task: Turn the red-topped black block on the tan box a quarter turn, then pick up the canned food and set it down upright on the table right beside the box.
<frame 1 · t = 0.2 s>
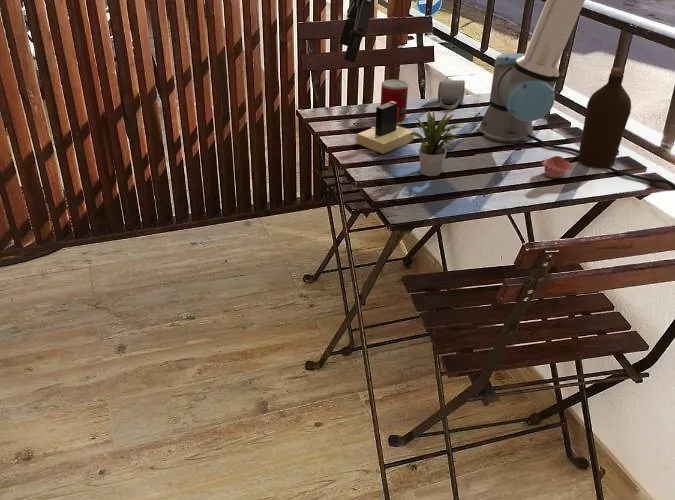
hand: (346, 52, 165), 27 cm above the table, tool tilted 15°, fingers open, 13 cm apart
flower: (554, 177, 167), on the table
red-topped black block: (386, 118, 181), point 7 cm above the table, hinge at 0.0°
canned food: (392, 118, 201), on the table
tan box: (385, 142, 185), on the table
ceramic mug: (450, 105, 212), on the table
olive oil: (595, 161, 176), on the table
house plant: (430, 174, 168), on the table
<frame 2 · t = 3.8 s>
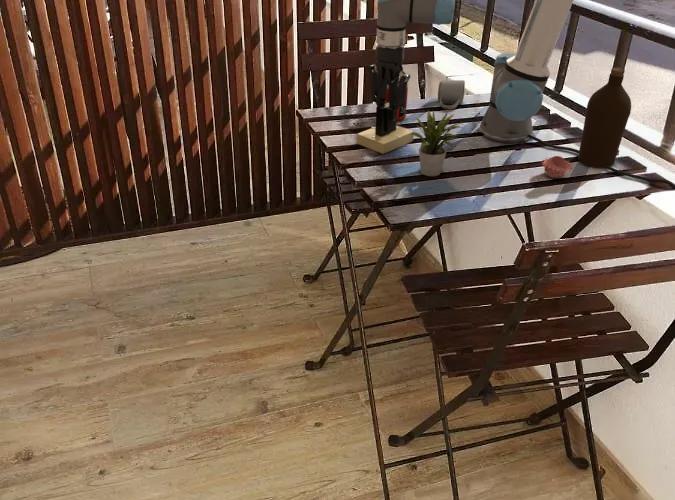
hand: (385, 129, 183), 4 cm above the table, tool pointing down, fingers closed on red-topped black block, 2 cm apart
red-topped black block: (386, 118, 181), point 7 cm above the table, hinge at 0.6°, touching gripper
everything else where it was.
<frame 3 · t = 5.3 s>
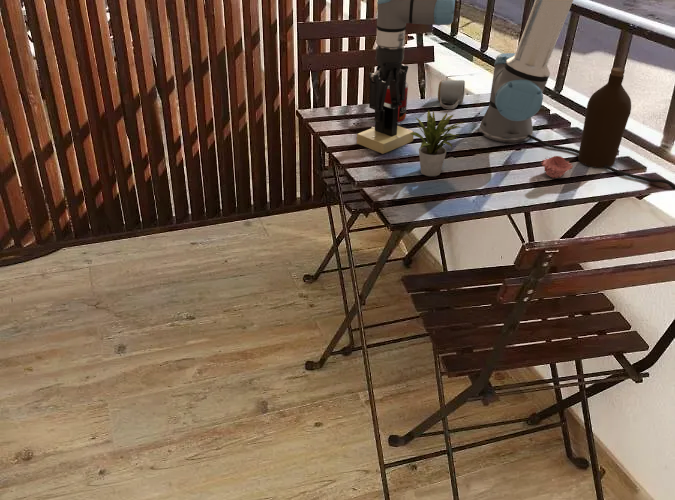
hand: (385, 129, 183), 4 cm above the table, tool pointing down, fingers open, 5 cm apart
red-topped black block: (386, 118, 181), point 7 cm above the table, hinge at 89.4°
everything else where it was.
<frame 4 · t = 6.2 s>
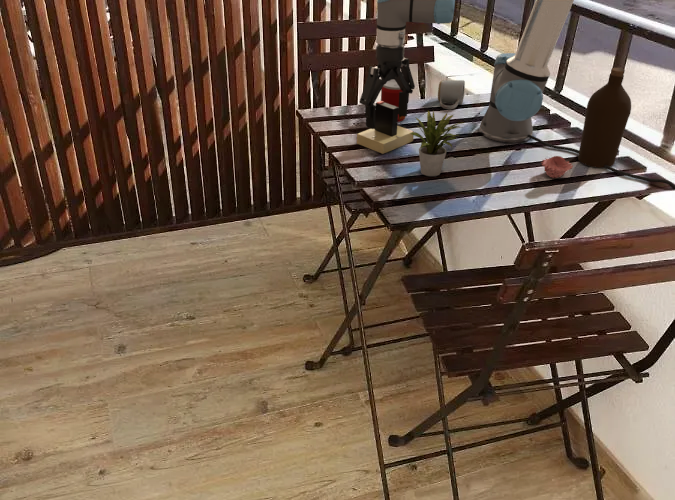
hand: (386, 121, 181), 6 cm above the table, tool pointing down, fingers open, 13 cm apart
nothing on the table moved.
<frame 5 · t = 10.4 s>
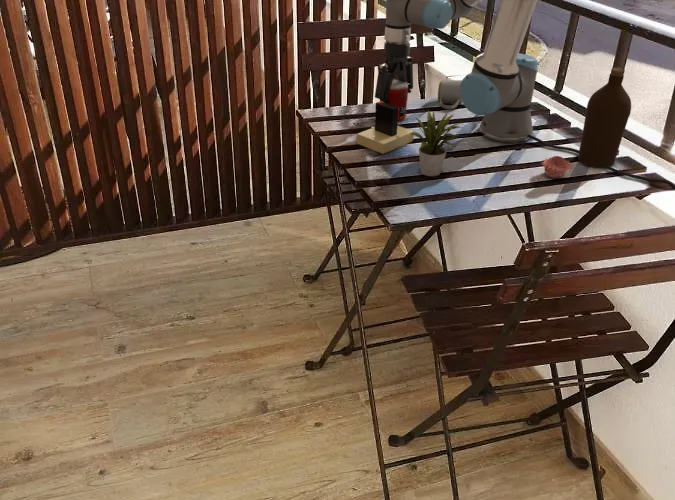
hand: (392, 116, 201), 1 cm above the table, tool pointing down, fingers closed on canned food, 8 cm apart
canned food: (392, 118, 201), on the table, touching gripper
everything else where it was.
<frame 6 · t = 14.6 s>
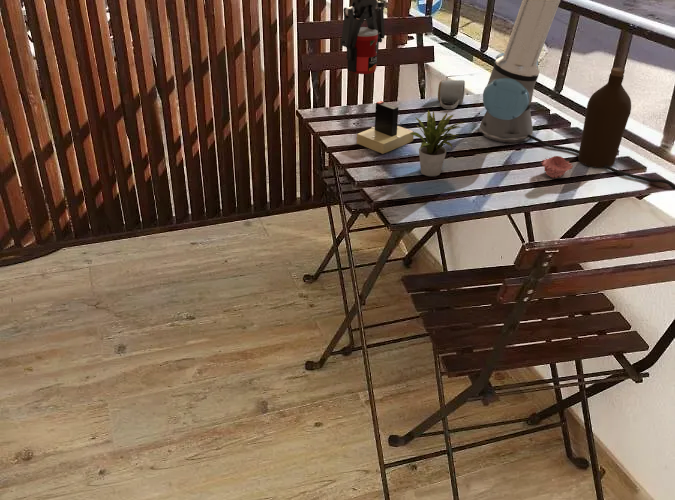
hand: (362, 68, 182), 19 cm above the table, tool pointing down, fingers closed on canned food, 8 cm apart
canned food: (362, 71, 183), point 18 cm above the table, touching gripper
everything else where it was.
when the fingers open (1 cm above the table, at t = 18.9 s): canned food stays where it is, on the table.
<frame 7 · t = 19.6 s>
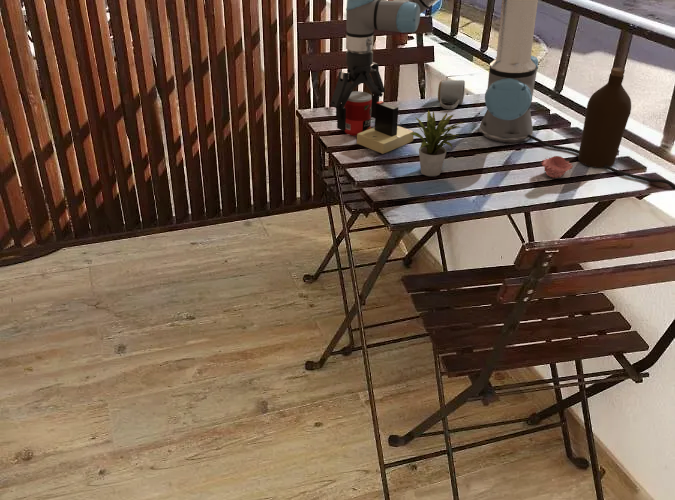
hand: (357, 123, 190), 3 cm above the table, tool pointing down, fingers open, 13 cm apart
canned food: (357, 132, 192), on the table
everything else where it was.
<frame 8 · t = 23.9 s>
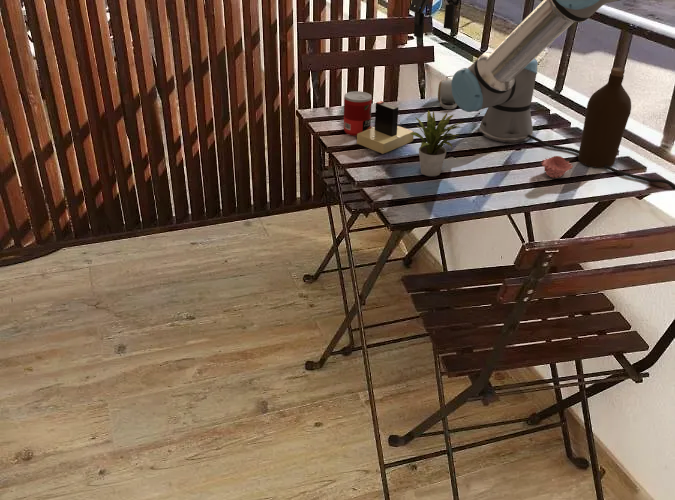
hand: (433, 32, 184), 27 cm above the table, tool pointing down, fingers open, 13 cm apart
nothing on the table moved.
at the end: red-topped black block at +89° (first picture: +0°); canned food inside the target area on the table beside the tan box (0.3 cm from its centre), on the table; canned food tilted 0° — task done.
